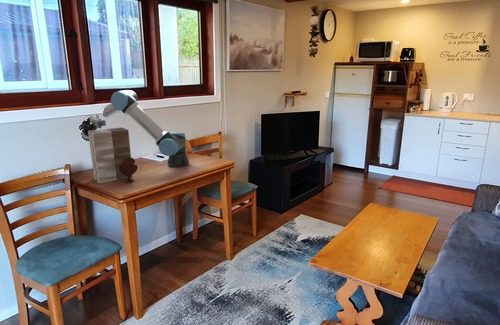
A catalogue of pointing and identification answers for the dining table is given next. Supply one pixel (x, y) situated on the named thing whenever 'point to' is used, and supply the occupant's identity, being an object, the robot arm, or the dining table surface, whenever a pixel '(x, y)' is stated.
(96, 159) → the wooden block tower
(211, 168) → the dining table surface
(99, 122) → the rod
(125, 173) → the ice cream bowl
